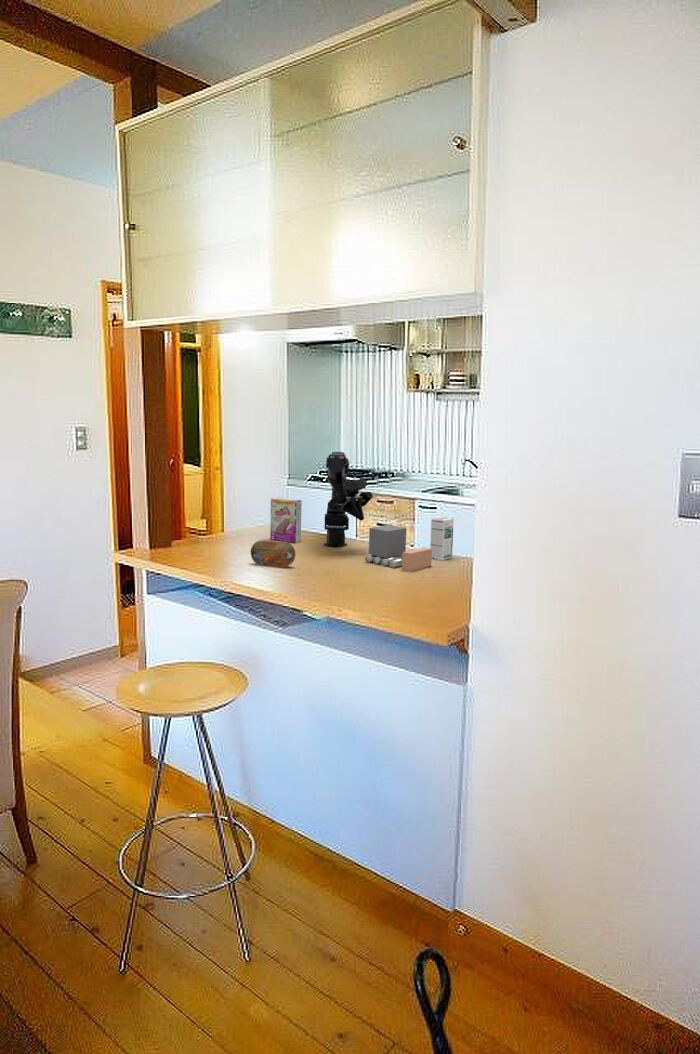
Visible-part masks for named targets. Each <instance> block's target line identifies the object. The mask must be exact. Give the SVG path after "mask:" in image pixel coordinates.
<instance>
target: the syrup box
mask: <svg viewBox="0 0 700 1054" xmlns="http://www.w3.org/2000/svg"><path fill="white" fill-rule="evenodd" d="M430 521H431V523H430V546H429V548H431V549H432V559H433V558H434V560H437V559H439V561H445V560H449V559H453V545H454V543H453V542H454V540H453V538H454V518H453V517H448V516H439V517H432V518H430Z"/></svg>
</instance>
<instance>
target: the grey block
mask: <svg viewBox="0 0 700 1054" xmlns="http://www.w3.org/2000/svg"><path fill="white" fill-rule="evenodd" d="M368 533H369V534H368V536H369V537H368V538H369V540H368V555H375V556H380V557H385V558H389V557H394V556H398V555H403V552H406V551H407V549H406V546H407V527H403V526H399V525H398V526H396V525H391V524H386V525H380V526H379V525H378V526H374V527H370V528H369V532H368Z"/></svg>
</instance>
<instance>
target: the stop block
mask: <svg viewBox="0 0 700 1054" xmlns="http://www.w3.org/2000/svg"><path fill="white" fill-rule="evenodd" d="M432 560H433V558H432V549H431V548H430V547H420V548H416V549H412V550H406V552H403V557H402V566H401V570H402V571H405V572H408V573H411V572H414V570H415V571H417V570H418V569H419V570H422V569H426V568H429V567H428V566H430V567H432ZM425 567H426V568H425ZM421 568H422V569H421Z"/></svg>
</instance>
